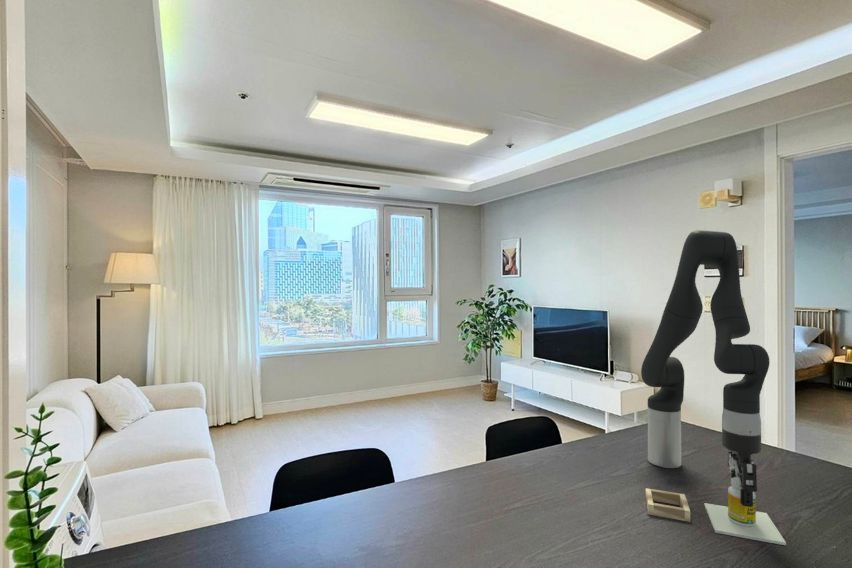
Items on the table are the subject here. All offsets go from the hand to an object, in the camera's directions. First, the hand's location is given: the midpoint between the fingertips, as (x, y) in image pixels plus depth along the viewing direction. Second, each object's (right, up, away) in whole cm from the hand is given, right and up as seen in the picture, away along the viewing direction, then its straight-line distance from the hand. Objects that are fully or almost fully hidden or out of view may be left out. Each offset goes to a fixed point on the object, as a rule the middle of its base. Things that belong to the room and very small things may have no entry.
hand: (741, 497), depth 103 cm
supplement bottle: (0, -6, 0) cm, 6 cm away
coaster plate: (0, -6, 0) cm, 6 cm away
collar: (-14, -6, +7) cm, 17 cm away
